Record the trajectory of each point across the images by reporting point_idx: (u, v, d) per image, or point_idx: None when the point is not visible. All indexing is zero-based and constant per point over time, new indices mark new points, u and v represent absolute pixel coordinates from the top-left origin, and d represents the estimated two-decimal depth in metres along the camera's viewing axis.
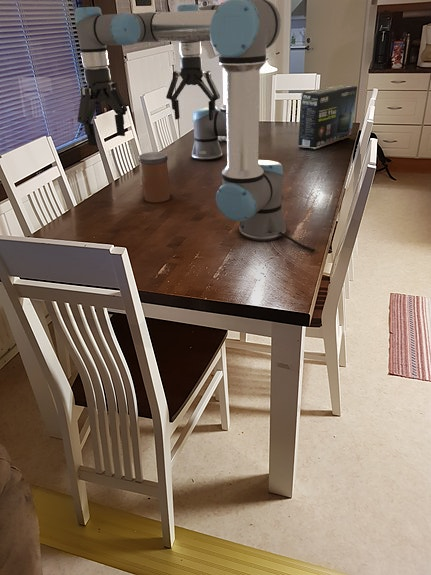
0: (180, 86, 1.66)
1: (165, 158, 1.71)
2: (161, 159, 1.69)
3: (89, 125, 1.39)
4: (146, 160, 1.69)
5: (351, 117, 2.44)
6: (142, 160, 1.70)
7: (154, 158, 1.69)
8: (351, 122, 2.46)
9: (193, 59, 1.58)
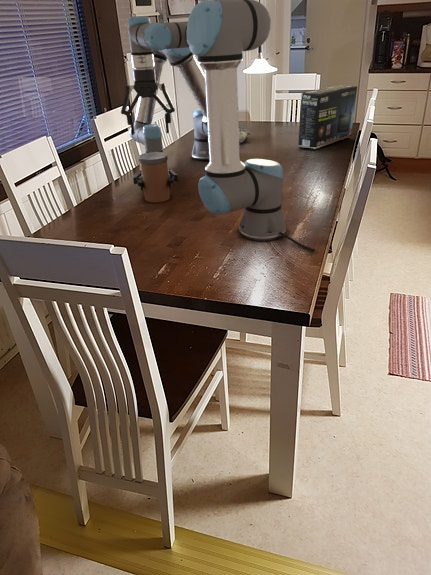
0: None
1: (165, 158, 1.71)
2: (161, 159, 1.69)
3: None
4: (146, 160, 1.69)
5: (351, 117, 2.44)
6: (142, 160, 1.70)
7: (154, 158, 1.69)
8: (351, 122, 2.46)
9: None
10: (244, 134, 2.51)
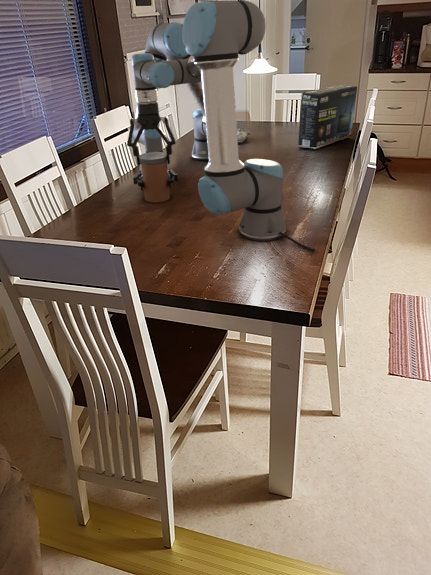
0: None
1: (165, 158, 1.71)
2: (161, 159, 1.69)
3: None
4: (146, 160, 1.69)
5: (351, 117, 2.44)
6: (142, 160, 1.70)
7: (154, 158, 1.69)
8: (351, 122, 2.46)
9: None
10: (244, 134, 2.51)
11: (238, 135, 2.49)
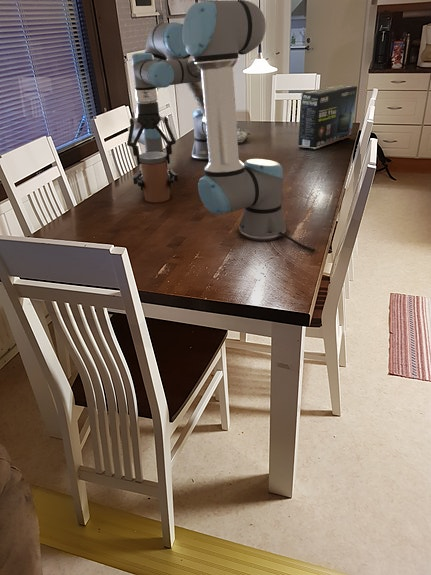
0: None
1: None
2: None
3: None
4: (163, 158, 1.70)
5: (351, 117, 2.44)
6: (158, 159, 1.69)
7: (163, 155, 1.72)
8: (351, 122, 2.46)
9: None
10: (244, 134, 2.51)
11: (238, 135, 2.49)
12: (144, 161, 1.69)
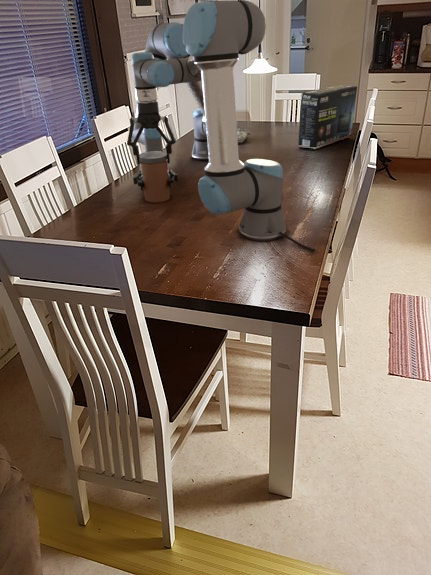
0: None
1: None
2: None
3: None
4: None
5: (351, 117, 2.44)
6: None
7: (157, 152, 1.76)
8: (351, 122, 2.46)
9: None
10: (244, 134, 2.51)
11: (238, 135, 2.49)
12: (161, 159, 1.69)
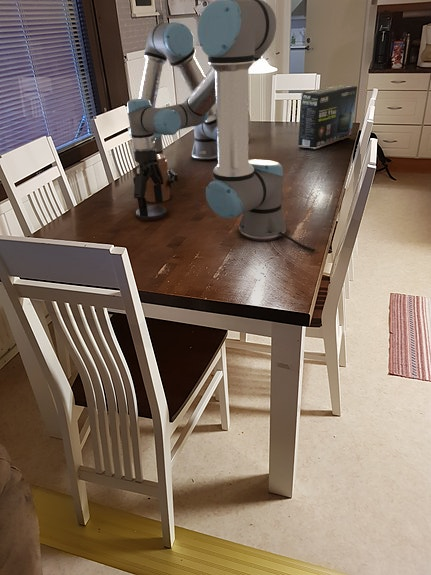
0: None
1: (136, 213, 1.64)
2: None
3: None
4: None
5: (351, 117, 2.44)
6: None
7: None
8: (351, 122, 2.46)
9: None
10: None
11: None
12: None
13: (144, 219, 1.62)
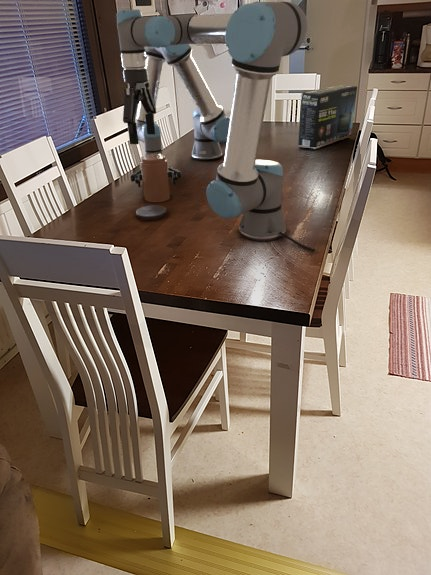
0: None
1: (136, 213, 1.64)
2: None
3: None
4: None
5: (351, 117, 2.44)
6: None
7: (143, 208, 1.67)
8: (351, 122, 2.46)
9: None
10: None
11: None
12: None
13: (144, 219, 1.62)
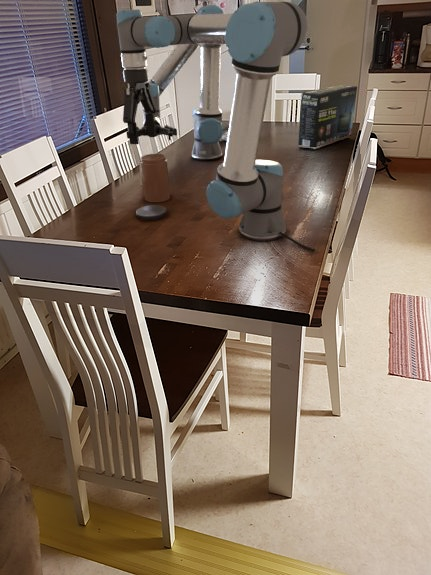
0: (162, 133, 1.89)
1: (136, 213, 1.64)
2: None
3: None
4: None
5: (351, 117, 2.44)
6: None
7: (143, 208, 1.67)
8: (351, 122, 2.46)
9: None
10: None
11: None
12: None
13: (144, 219, 1.62)
